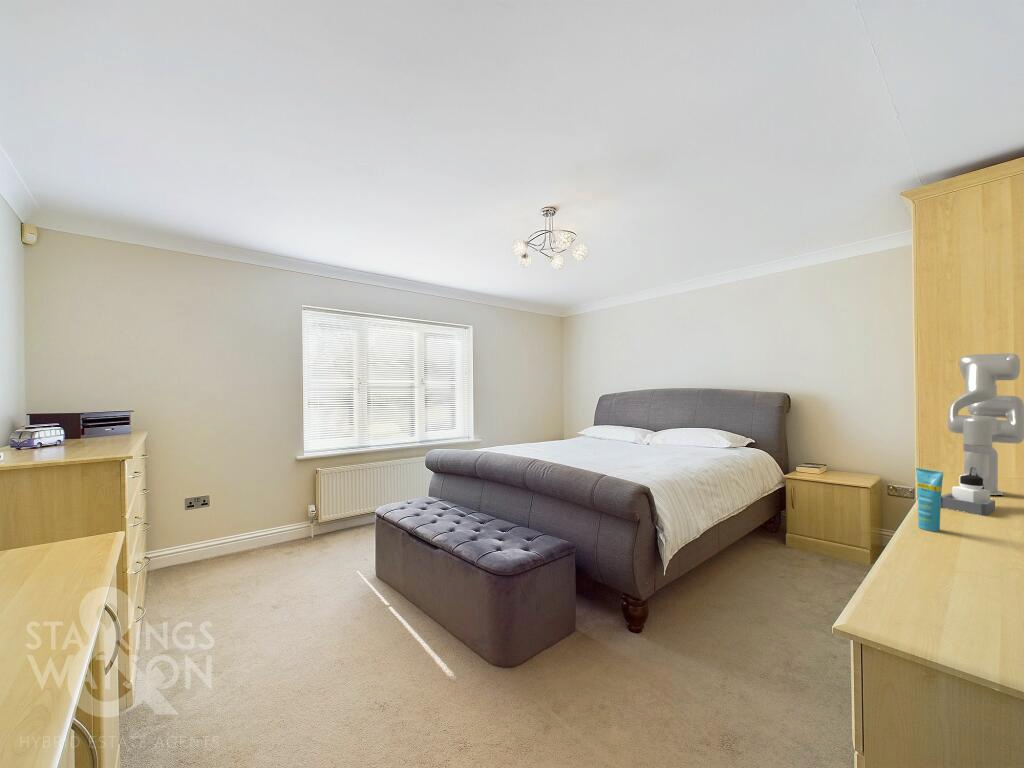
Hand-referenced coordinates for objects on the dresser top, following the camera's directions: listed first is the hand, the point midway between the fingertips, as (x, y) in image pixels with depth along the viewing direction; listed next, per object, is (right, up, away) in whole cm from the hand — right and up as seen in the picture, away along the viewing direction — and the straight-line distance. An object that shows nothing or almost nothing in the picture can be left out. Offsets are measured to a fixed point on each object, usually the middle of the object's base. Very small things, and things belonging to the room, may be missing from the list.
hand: (977, 496), depth 163 cm
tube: (-46, -3, -27) cm, 54 cm away
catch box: (-11, -3, -6) cm, 13 cm away
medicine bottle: (-6, -3, -3) cm, 8 cm away
